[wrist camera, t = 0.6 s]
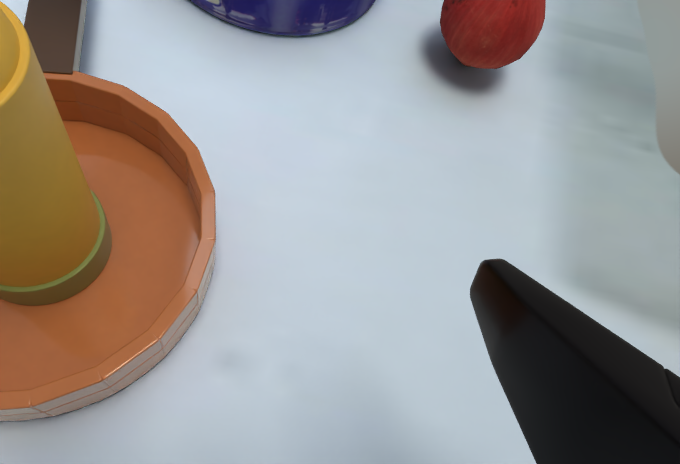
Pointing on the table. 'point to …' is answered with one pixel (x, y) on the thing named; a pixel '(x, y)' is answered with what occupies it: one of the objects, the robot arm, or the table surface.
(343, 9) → the dog bowl
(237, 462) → the table surface
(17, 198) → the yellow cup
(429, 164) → the table surface
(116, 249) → the pan
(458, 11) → the red rounded piece
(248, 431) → the table surface
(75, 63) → the pan handle
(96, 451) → the table surface
